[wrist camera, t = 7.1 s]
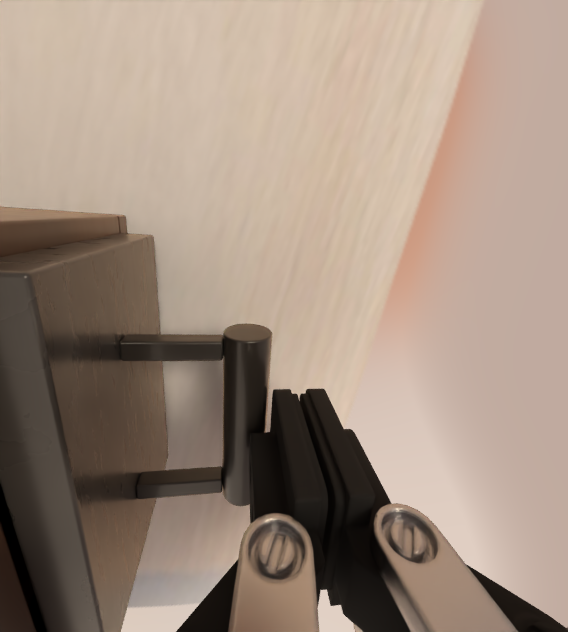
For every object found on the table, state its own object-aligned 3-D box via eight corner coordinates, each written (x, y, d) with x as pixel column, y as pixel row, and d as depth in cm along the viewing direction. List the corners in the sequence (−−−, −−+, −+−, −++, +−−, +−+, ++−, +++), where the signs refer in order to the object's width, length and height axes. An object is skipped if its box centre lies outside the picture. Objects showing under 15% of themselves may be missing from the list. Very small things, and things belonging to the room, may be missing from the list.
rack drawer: (263, 241, 12) (302, 282, 5) (253, 449, 15) (268, 643, 8) (-201, 213, 9) (-1362, 222, 3) (-90, 470, 13) (-464, 770, 6)
